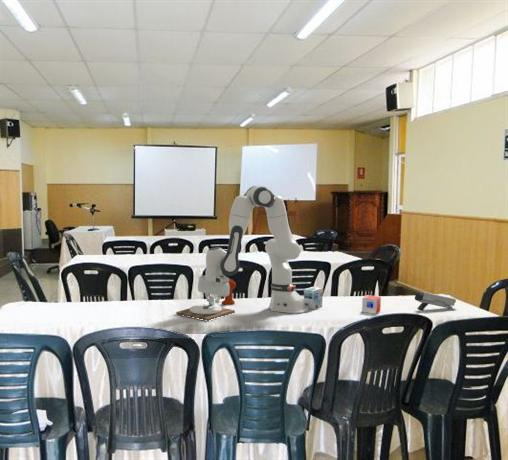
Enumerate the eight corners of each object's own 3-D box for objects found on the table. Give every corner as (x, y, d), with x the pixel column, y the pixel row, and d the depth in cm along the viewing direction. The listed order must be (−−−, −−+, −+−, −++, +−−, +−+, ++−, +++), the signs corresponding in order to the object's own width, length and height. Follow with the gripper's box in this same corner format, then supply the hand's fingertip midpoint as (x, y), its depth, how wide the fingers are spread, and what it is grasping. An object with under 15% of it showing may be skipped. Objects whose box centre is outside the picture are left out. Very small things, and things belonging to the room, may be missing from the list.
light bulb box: (313, 309, 267) (313, 290, 266) (302, 308, 271) (303, 289, 270) (322, 306, 275) (323, 287, 274) (312, 304, 279) (312, 286, 278)
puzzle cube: (380, 310, 267) (380, 296, 266) (376, 313, 260) (376, 299, 259) (366, 308, 271) (366, 294, 270) (361, 311, 264) (362, 297, 263)
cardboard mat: (234, 312, 257) (234, 309, 257) (207, 321, 240) (207, 318, 239) (203, 306, 270) (203, 304, 270) (176, 314, 252) (176, 311, 252)
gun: (411, 307, 270) (415, 290, 270) (449, 315, 275) (454, 298, 275) (413, 308, 268) (418, 291, 267) (452, 316, 273) (456, 299, 272)
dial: (213, 315, 244) (213, 303, 243) (183, 312, 250) (183, 300, 249) (226, 308, 260) (226, 297, 259) (198, 305, 266) (198, 294, 265)
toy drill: (201, 301, 278) (205, 275, 277) (233, 304, 281) (237, 279, 280) (202, 303, 273) (205, 277, 272) (234, 306, 276) (238, 280, 276)
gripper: (195, 275, 263) (194, 300, 264) (224, 280, 251) (223, 306, 252) (203, 274, 268) (202, 298, 269) (231, 278, 256) (230, 304, 257)
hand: (212, 302), depth 260 cm, fingers open, 5 cm apart
